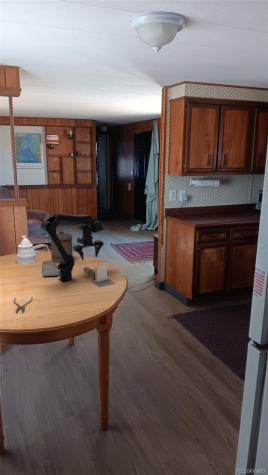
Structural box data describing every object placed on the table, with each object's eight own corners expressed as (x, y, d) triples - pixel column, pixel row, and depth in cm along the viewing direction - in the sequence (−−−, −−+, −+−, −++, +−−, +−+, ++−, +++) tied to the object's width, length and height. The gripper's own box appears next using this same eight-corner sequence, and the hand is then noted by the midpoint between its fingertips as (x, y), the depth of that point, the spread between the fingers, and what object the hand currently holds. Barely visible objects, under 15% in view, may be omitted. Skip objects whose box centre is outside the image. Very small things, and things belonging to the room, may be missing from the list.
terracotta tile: (97, 282, 205) (96, 267, 203) (95, 281, 206) (95, 266, 204) (107, 279, 209) (107, 265, 207) (105, 278, 210) (105, 264, 208)
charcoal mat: (99, 288, 197) (99, 287, 197) (90, 282, 206) (90, 281, 206) (115, 284, 203) (115, 283, 203) (106, 278, 212) (106, 278, 212)
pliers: (31, 295, 186) (37, 310, 168) (32, 296, 186) (37, 311, 168) (12, 297, 182) (16, 313, 164) (12, 299, 182) (16, 315, 164)
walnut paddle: (81, 273, 221) (81, 265, 220) (89, 271, 225) (89, 264, 224) (94, 280, 209) (93, 272, 208) (102, 278, 212) (102, 270, 211)
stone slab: (56, 260, 243) (59, 272, 214) (56, 264, 243) (59, 277, 215) (41, 261, 240) (42, 274, 212) (41, 265, 241) (42, 279, 212)
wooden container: (73, 256, 257) (72, 227, 252) (71, 262, 243) (70, 232, 237) (53, 257, 256) (52, 227, 251) (49, 263, 242) (48, 232, 237)
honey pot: (14, 261, 246) (12, 236, 242) (31, 257, 254) (29, 233, 250) (22, 265, 237) (20, 239, 233) (39, 261, 245) (38, 236, 241)
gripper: (95, 229, 224) (97, 252, 229) (68, 235, 215) (70, 258, 219) (103, 233, 215) (105, 256, 220) (75, 239, 206) (77, 263, 210)
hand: (89, 258), depth 218 cm, fingers open, 9 cm apart
